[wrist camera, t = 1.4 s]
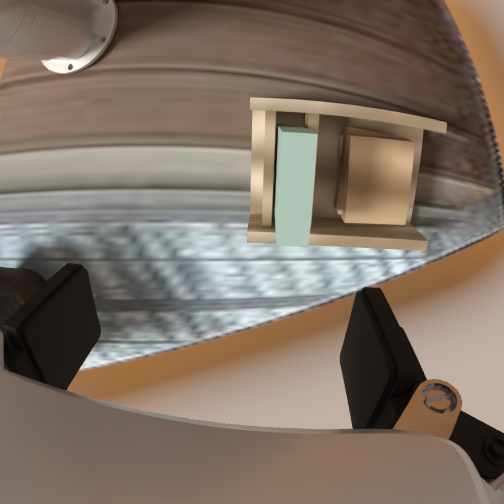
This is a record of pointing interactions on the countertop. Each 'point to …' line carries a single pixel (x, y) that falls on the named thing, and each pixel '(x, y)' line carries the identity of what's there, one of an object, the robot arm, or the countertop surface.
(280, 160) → the pale green slab
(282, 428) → the robot arm
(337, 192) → the offcut
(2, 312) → the pitcher
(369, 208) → the offcut
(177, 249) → the countertop surface
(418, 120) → the rack
